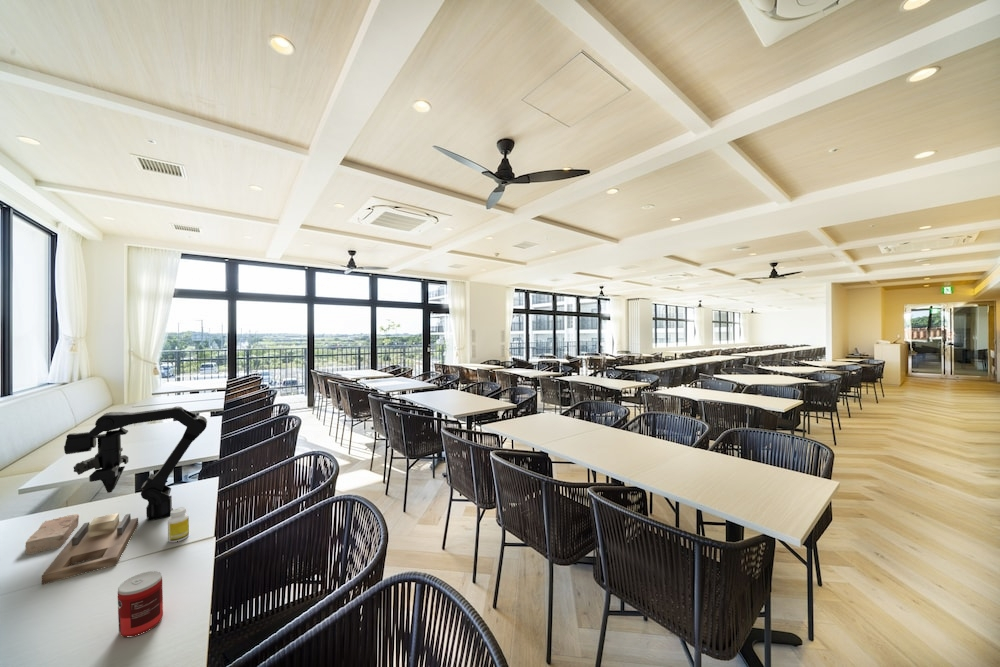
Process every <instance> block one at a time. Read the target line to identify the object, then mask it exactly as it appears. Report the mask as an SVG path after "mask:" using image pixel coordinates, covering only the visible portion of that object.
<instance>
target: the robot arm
mask: <svg viewBox="0 0 1000 667" xmlns="http://www.w3.org/2000/svg"><path fill="white" fill-rule="evenodd" d="M168 419H169V420H170V419H175V420H176V421H178V422H179V423H180V424H181V425H183V426H184V427H186V428H185V430H184V433H183V434H182V437H181V439H180V440H179V441H178V443H177V444H176V446H175V447H174V449H173V450H172V451H171V453H170V455H169V456H168V457H167V459H166V460H165V462H163V464H162V465H161V467H160V468H159V470H158V471H157V472H156V473H155V474H153V473H150V474H149V476H148V478H147V479H146V481H145V482H143V483H142V486H141V487H140V490H141V492H140V496H141V498H142V499H143V500H146V501H147V506H146V508H145V509H146V518H147V520H146V521H148V522H150V521H154V519H155V520H158V519H163V518H167V517H171V516H170V512H171V511H172V510H174V508H173V503H172V501H173V498H172V495H170V494H171V491H172V488H171V487H169V486H168V485H166V483H167V481H168V479H169V477H170V476H171V473H172V472H173V471H174V470H175V468H176V466H177V465H178V463H179V462H180V460H181V459H182V458H183V456H184V454H185V453H186V452H187V450H188V449H189V447H190V446H191V445H192V443H193V442H194V441H195V440H196V439H197V438H198V437H199V436H201V434H202V433H203V432H204V431H205V429H206V428H207V425H208V420H207V418H206V417H205V416H202V415H196V414H195V413H193V412H192V411H189V410H187V409H184V408H183V407H182V406H179V405H177V406H174V407H167V408H166V407H165V408H158V409H152V410H144V411H137V412H130V411H129V412H127V411H111V412H106V413H103V415H101V416H99V417H98V418H97V419H96V421H95V424H94V426H95V427H93V428H92V429H90V431H88V432H87V431H86V432H78V433H77V432H76V433H75V432H73V433H68V434H67V435H66V439H65V443H64V445H63V449H64V451H63V452H64V453H65V455H72V454H79V453H86V452H91V451H92V449H93V448H96V446H97V453H96V454H95V455H94V456H93V457H91V458H90V457H89V458H88V459H85V460H82V461H80V462H77V463H76V464H75V465H74V466H73V472H74V473H76V474H77V475H81V474H84V473H85V472H88V471H90V470H93V469H94V471H93V472H92V473H91V474H90V475H89V479H88V481H89V482H90V483H92V482H97V481H101V483H102V484H103V486H104V488H105V491H106V492H107V493H108V494H109V493H112V492H113V491H114V490H115V489H116V486H117V484H118V482H119V480H120V478H121V476H122V473H123V472H124V470H125V468H126V466H121V464H124V465H127V464H128V463H129V456H128V455H125V454H124V455H123V454H122V451H124V450H123V449H124V448H123V447H122V444H121V442H122V440H121V436H125V435H127V434H128V433H129V430H128V429H126V428H124V427H127V426H129V425H135V424H141V423H148V422H149V423H150V422H155V421H163V420H168ZM103 432H105V433H103ZM101 433H102V434H101Z"/></svg>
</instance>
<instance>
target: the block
mask: <svg viewBox="0 0 1000 667" xmlns="http://www.w3.org/2000/svg"><path fill="white" fill-rule="evenodd" d="M119 522H120V512H116V513H113V514H106V515H102V516H97V517H94V518H93V519H92V520H91V522H89V526H88V528H89V537H94V536H98V535H102V534H107V533H111V532H115V530H116V528H117V527H118V525H119Z"/></svg>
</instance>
